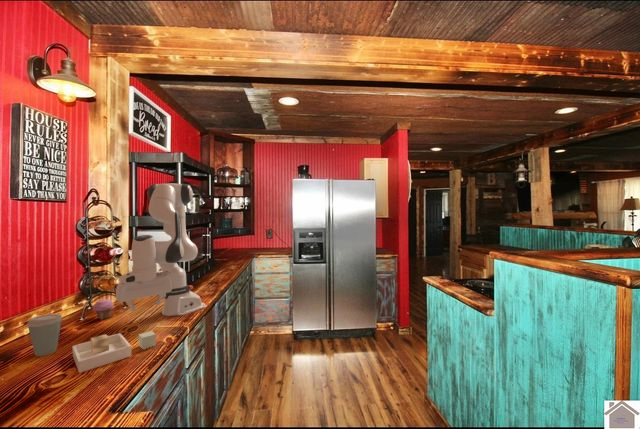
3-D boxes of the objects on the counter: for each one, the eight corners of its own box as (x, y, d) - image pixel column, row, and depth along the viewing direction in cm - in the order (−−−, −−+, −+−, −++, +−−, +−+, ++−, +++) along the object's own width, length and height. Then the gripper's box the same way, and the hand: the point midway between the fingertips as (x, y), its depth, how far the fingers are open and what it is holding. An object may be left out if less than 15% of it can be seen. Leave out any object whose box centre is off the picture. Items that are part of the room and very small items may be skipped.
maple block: (106, 346, 123) (105, 334, 123) (109, 349, 119) (108, 337, 119) (91, 350, 119) (90, 338, 119) (93, 354, 116) (92, 341, 116)
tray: (120, 342, 129) (120, 333, 128) (131, 356, 116) (131, 345, 116) (72, 355, 117) (72, 345, 117) (79, 372, 105) (78, 361, 104)
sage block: (152, 342, 128) (151, 330, 128) (156, 345, 124) (155, 334, 124) (139, 346, 124) (138, 334, 124) (142, 350, 121) (142, 338, 121)
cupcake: (98, 322, 153) (97, 303, 153) (90, 319, 157) (89, 300, 157) (117, 316, 160) (116, 298, 160) (109, 314, 165) (108, 296, 165)
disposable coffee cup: (46, 346, 126) (44, 311, 126) (71, 346, 126) (69, 311, 125) (20, 359, 116) (18, 321, 115) (47, 359, 115) (45, 320, 115)
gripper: (168, 269, 133) (169, 300, 134) (114, 277, 119) (115, 312, 119) (173, 271, 129) (174, 302, 129) (117, 280, 114) (119, 315, 115)
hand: (145, 307), depth 124 cm, fingers open, 8 cm apart
